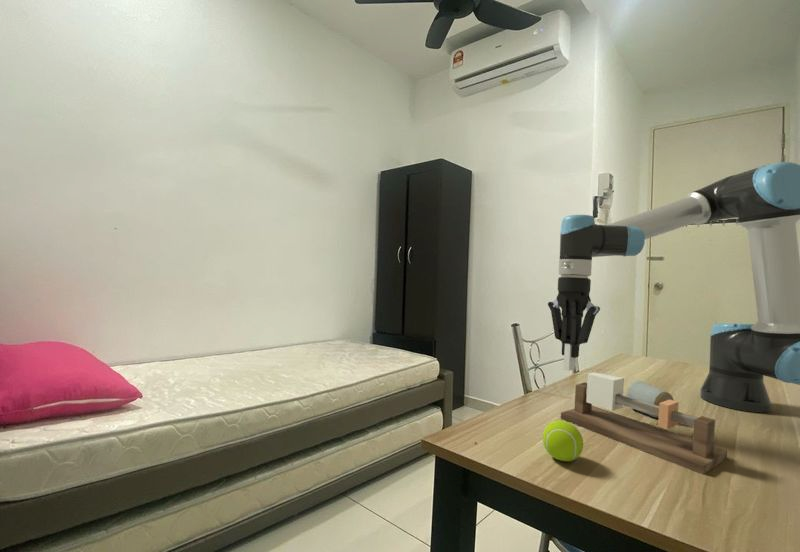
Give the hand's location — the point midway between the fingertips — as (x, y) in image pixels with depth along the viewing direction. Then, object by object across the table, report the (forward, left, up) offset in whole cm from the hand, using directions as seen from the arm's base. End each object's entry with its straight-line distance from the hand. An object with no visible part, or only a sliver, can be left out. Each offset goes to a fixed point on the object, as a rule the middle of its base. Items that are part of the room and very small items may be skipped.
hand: (569, 369), depth 95 cm
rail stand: (0, +16, -11) cm, 19 cm away
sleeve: (0, +9, -6) cm, 11 cm away
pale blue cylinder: (-20, +11, -11) cm, 25 cm away
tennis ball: (+24, +14, -11) cm, 30 cm away
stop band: (0, +22, -6) cm, 23 cm away
